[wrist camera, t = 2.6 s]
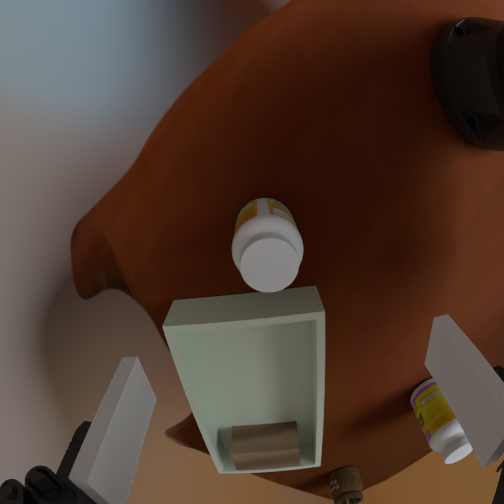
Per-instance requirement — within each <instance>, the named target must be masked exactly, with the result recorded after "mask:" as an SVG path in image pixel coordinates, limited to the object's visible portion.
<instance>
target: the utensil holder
mask: <svg viewBox="0 0 504 504" xmlns="http://www.w3.org/2000/svg"><path fill="white" fill-rule="evenodd" d="M329 485H330V491H331V495H332V497H333V498H334V499H335V500H334V503H335V504H358V503H359V502H361V500H362V499H363V494H362V493H361V492H362V489H363V486H362V481H361V477H360V473H359V470H358V469H357V468H355V467H343V468H340V469H337V470H335V471H333V472H332V473H331V474H330V475H329Z"/></svg>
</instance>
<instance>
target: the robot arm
mask: <svg viewBox="0 0 504 504" xmlns="http://www.w3.org/2000/svg"><path fill="white" fill-rule="evenodd" d="M431 71H432V78H433V83H434V87H435V91H436V94H437V97H438V99H439V102H440V104H441V106H442V108H443V110H444V112H445V114H446V116H447V118H448V119H449V121H450V122H451V124H452V125H453V126H454V127H455V129H456V130H457V131H458V132H459V133H460V134H461V135H462V136H463V137H464V138H465V139H466V140H468V141H469V142H471V143H472V144H474V145H476V146H478V147H481V148H485V149H490V150H495V151H504V21H499V20H493V19H486V18H478V17H467V18H462V19H459V20H457V21H455V22H452V23H450V24H448V25H446V26H445V27H444V28H443V29H442V30H441V31H440V32H439V34H438V35H437V37H436V39H435V42H434V45H433V49H432V55H431ZM425 365H426V367H427V369H428V370H429V372H430V374H431V375H432V377H433V379H434V380H435V382H436V384H437V385H438V387H439V389H440V390H441V392H442V394H443V396H444V397H445V399H446V401H447V402H448V404H449V406H450V408H451V409H452V411H453V413H454V415H455V417H456V418H457V420H458V422H459V424H460V426H461V428H462V429H463V431H464V433H465V435H466V437H467V439H468V441H469V443H470V444H471V446H472V448H473V450H474V452H475V454H476V456H477V458H478V460H479V462H480V464H481V466H482V468H483V467H485V466H487V465H489V464H491V463H493V462H495V461H497V460H498V459H499V457H500V456H501V455H502V453H503V452H504V368H502V367H500V366H496V367H494V368H492V367H491V366H490V364H489V363H488V362H487V361H486V359H485V358H484V357H483V356H482V354H481V353H480V352H479V351H478V349H477V348H476V347H475V346H474V345H473V343H472V342H471V341H470V340H469V339H468V337H467V336H466V335H465V334H464V333H463V331H462V330H461V329H460V328H459V327H458V326H457V325H456V323H455V322H454V321H453V320H452V319H451V318H450V317H449V315H448V314H447V315H443V316H439V317H435V318H434V320H433V325H432V331H431V336H430V341H429V346H428V350H427V355H426V359H425ZM156 400H157V398H156V396H155V394H154V392H153V390H152V388H151V385H150V383H149V381H148V379H147V377H146V374H145V372H144V370H143V368H142V365H141V363H140V361H139V358H138V357H123V358H122V360H121V362H120V364H119V366H118V368H117V370H116V373H115V374H114V376H113V378H112V380H111V383H110V385H109V387H108V389H107V391H106V393H105V395H104V397H103V399H102V401H101V404H100V406H99V408H98V410H97V412H96V415H95V417H94V419H93V421H92V422H88V421H84V422H83V423H82V424H81V426H79V427H78V428H77V429H76V431H75V433H74V435H73V438H72V441H71V442H70V444H69V446H68V448H69V449H67V451H66V453H65V455H64V457H63V460H62V462H61V464H60V466H59V469H58V471H57V474H55V473H54V472H52V471H51V469H49V468H48V467H46V466H36V467H34V468H32V469H30V471H29V472H28V473H27V474H26V477H25V486H23V485H22V484H21V483H20V482H19V481H17V480H15V479H9V480H6V481H5V482H4V483H3V484H2V485H1V487H0V504H127V502H128V498H129V494H130V491H131V487H132V483H133V480H134V475H135V472H136V469H137V465H138V461H139V458H140V454H141V451H142V447H143V444H144V440H145V437H146V433H147V430H148V427H149V423H150V420H151V416H152V413H153V410H154V407H155V403H156ZM501 468H502V471H501V475H500V479H499V482H498V486H497V489H496V493H495V496H494V499H493V502H492V504H504V460H503V462H502V463H501V464H500V466H499V467H498V468H497V471H496V472H499V471H500V469H501Z"/></svg>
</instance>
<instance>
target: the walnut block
mask: <svg viewBox="0 0 504 504" xmlns="http://www.w3.org/2000/svg"><path fill="white" fill-rule="evenodd" d="M230 454H231V457H232V459H233V462H234V465H235V468H236V470H260V469H274V468H286V467H295V466H300V447H299V438H298V430H297V421H291V422H281V423H271V424H258V425H242V426H232V438H231V453H230Z"/></svg>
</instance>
